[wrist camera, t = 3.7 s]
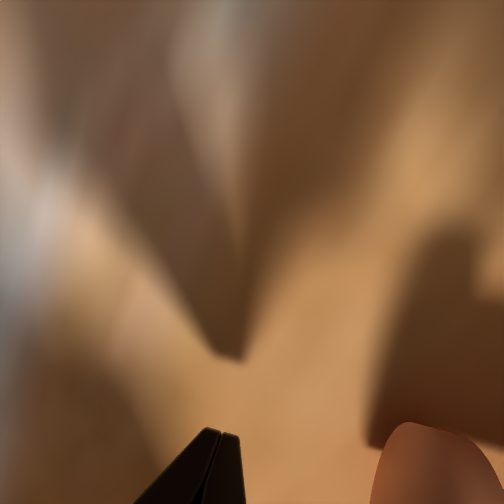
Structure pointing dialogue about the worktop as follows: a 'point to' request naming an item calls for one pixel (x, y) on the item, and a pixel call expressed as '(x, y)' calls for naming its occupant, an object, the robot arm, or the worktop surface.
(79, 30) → the worktop surface
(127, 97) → the worktop surface
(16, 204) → the worktop surface
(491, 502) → the pin
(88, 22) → the worktop surface
